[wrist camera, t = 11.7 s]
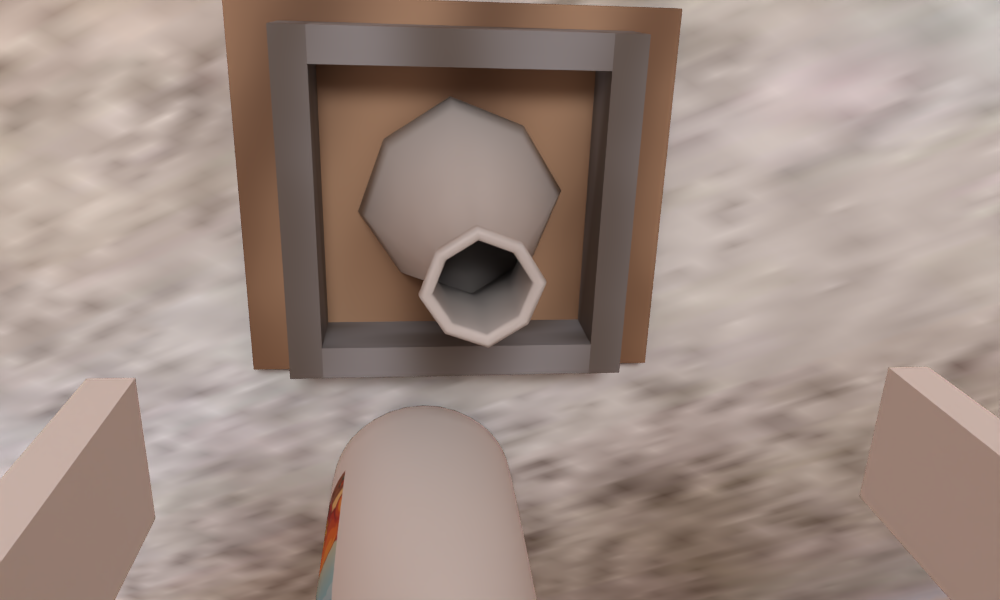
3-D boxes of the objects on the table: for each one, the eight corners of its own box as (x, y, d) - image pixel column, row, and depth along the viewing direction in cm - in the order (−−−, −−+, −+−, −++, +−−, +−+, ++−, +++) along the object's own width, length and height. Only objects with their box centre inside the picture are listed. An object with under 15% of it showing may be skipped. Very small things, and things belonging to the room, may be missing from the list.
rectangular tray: (673, 8, 30) (706, 10, 26) (638, 352, 35) (662, 390, 31) (227, -7, 28) (203, -7, 25) (258, 358, 33) (241, 399, 30)
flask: (472, 322, 32) (498, 456, 23) (323, 212, 30) (286, 311, 21) (592, 185, 31) (672, 268, 21) (446, 58, 28) (464, 91, 19)
